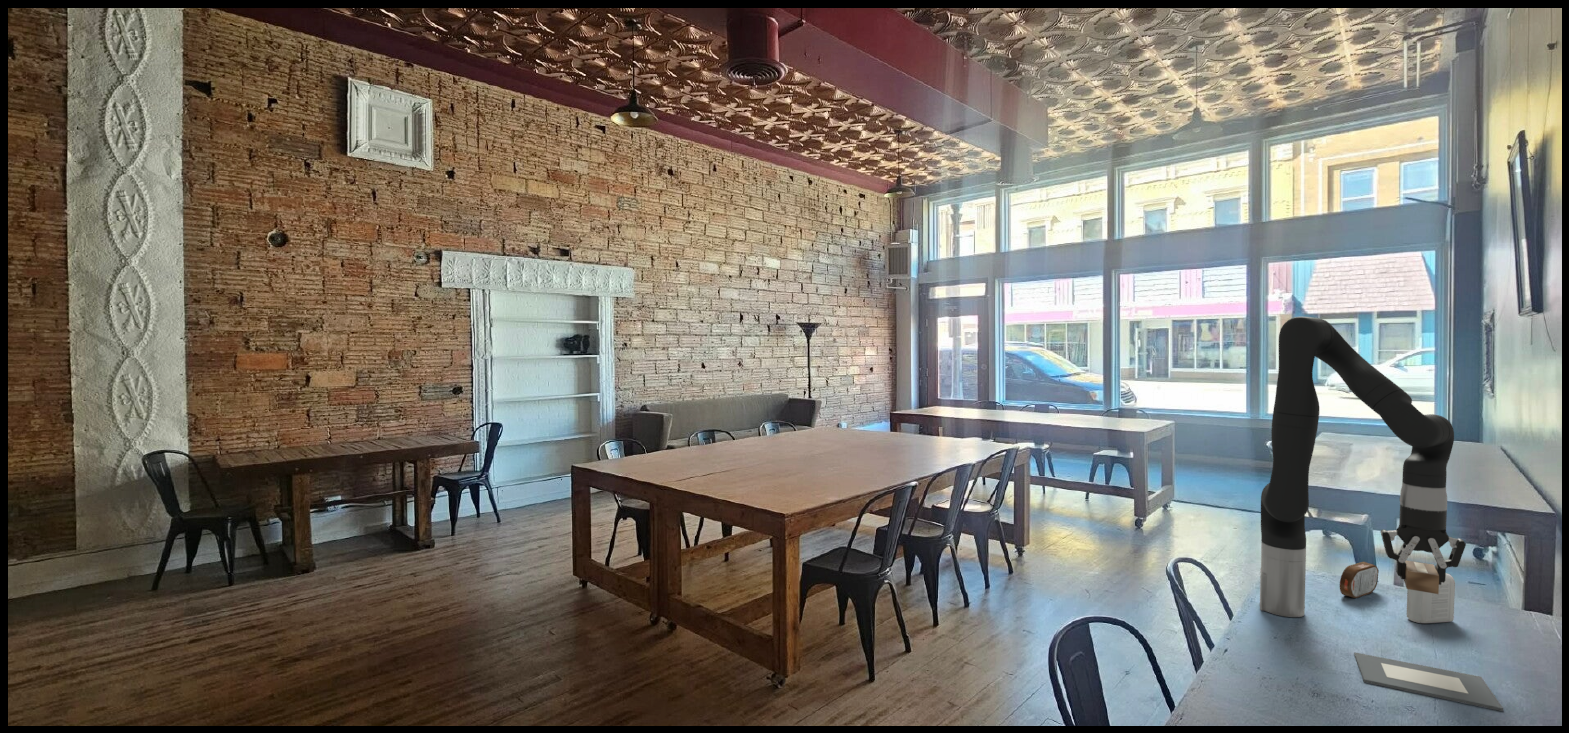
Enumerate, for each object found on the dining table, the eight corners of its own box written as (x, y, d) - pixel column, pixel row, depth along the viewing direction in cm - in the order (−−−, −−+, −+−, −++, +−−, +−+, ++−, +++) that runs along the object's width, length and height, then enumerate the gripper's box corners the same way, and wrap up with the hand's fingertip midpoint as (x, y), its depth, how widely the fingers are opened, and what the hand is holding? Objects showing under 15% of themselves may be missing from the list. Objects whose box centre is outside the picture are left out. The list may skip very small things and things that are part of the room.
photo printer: (1438, 615, 170) (1439, 567, 169) (1457, 622, 166) (1459, 572, 165) (1402, 618, 168) (1404, 569, 168) (1421, 625, 164) (1422, 575, 164)
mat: (1363, 682, 138) (1364, 678, 138) (1354, 655, 150) (1354, 651, 150) (1503, 711, 127) (1503, 708, 127) (1481, 679, 138) (1481, 676, 138)
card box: (1406, 588, 148) (1407, 570, 148) (1402, 577, 155) (1403, 559, 155) (1438, 594, 145) (1439, 575, 144) (1432, 582, 152) (1433, 564, 152)
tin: (1366, 588, 188) (1367, 558, 188) (1380, 592, 185) (1381, 561, 185) (1337, 598, 182) (1338, 567, 181) (1351, 602, 179) (1352, 570, 178)
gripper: (1382, 504, 150) (1380, 579, 151) (1473, 513, 142) (1470, 593, 143) (1377, 497, 156) (1374, 570, 157) (1463, 506, 148) (1460, 582, 149)
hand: (1420, 580), depth 150 cm, fingers closed on card box, 5 cm apart
